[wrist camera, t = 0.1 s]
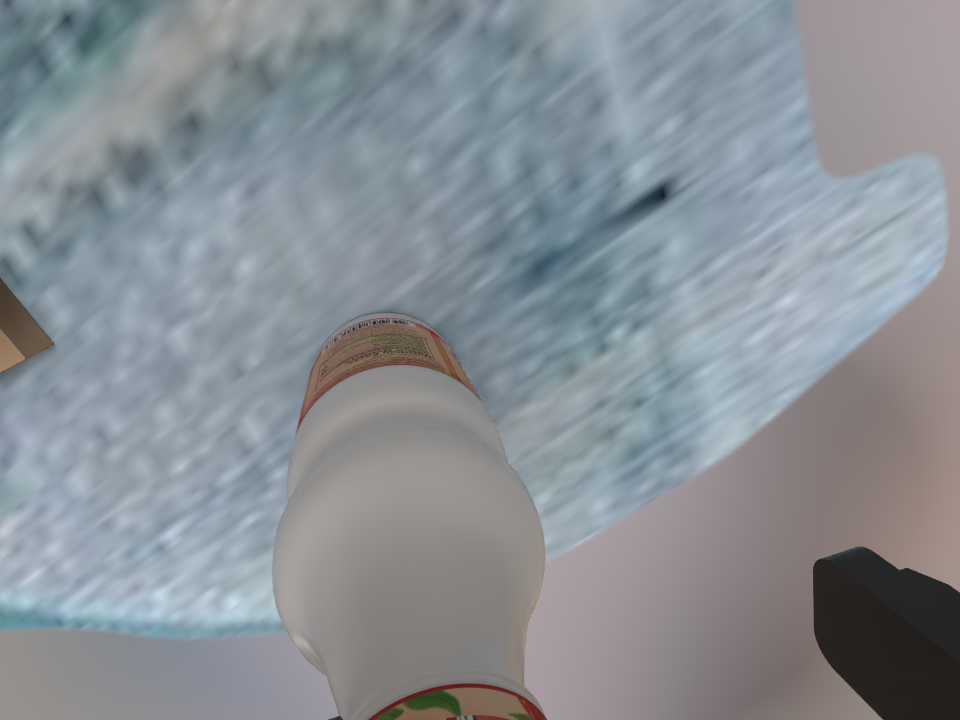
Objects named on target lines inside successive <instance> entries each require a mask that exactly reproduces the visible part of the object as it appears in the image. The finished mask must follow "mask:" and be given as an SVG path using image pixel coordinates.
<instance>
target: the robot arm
mask: <svg viewBox="0 0 960 720" xmlns="http://www.w3.org/2000/svg"><path fill="white" fill-rule="evenodd" d="M813 591H814V593H813V594H814V595H813V597H814V633H815V637H816V640H817V643H818V645H819V648H820V650H821V652H822V653H823V655H824V657H825V658H826V660H827V661H828V663H829V664H830V665H831V667H832V668H833V669H834V670H835V671H836V672H837V673H838V674H839V675H840V676H841V677H842V678H843V679H844V680H845V681H846V682H847V683H848V684H849V685H850V686H851V687H852V688H853V689H854V690H855V692H856V693H857V694H858V695H860V697H861V698H862V699H863V700H864V701H865V702H866V703H867V704H868V705H869V706H870V707H871V708H872V709H873V710H874V711H875V712H876V713H877V714H878V715H879V716H880V717H881V718H882V719H883V720H960V593H959V592H958V591H957V590H955V589H954V588H952V587H951V586H949V585H948V584H946V583H943V582H941V581H938V580H936V579H933V578H931V577H928V576H926V575H923V574H921V573H918V572H916V571H913V570H911V569H909V568H905V569H902V570H898V569H897V568H896V567H894V566H893V565H892V564H890V563H889V562H887V561H886V560H884V559H883V558H882V557H880V556H879V555H877V554H876V553H875V552H873V551H871V550H870V549H867V548H864V547H855V548H852V549H849V550H846V551H843V552H840V553H837V554H834V555H831V556H828V557H825V558H822V559H819V560H817V561H816V563H815V564H814V567H813ZM329 720H343V718H342V717H341V716H338V717H335V718H332V719H329Z"/></svg>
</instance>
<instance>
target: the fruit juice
mask: <svg viewBox="0 0 960 720" xmlns="http://www.w3.org/2000/svg"><path fill="white" fill-rule="evenodd" d="M287 497H288V503H287V505H286V508H285V510H284V512H283V514H282V517H281V519H280V522H279V525H278V528H277V532H276V537H275V543H274V552H273V561H272V584H273V592H274V598H275V603H276V607H277V610H278V614H279V616H280V619H281V621H282V624H283V626H284V628H285V630H286V632H287V634H288V636H289V637H290V639H291V641H292V642H293V644H294V645H295V647H296V648H297V649H298V650H299V652H300V653H301V654H302V655H303V656H304V657H305V659H306V660H307V661H308V662H309V663H310V664H311V665H313V666H314V667H315V668H316V669H317V670H318V671H319V672H321V673H322V674H323V675H325V676H326V678H327V680H328V683H329V685H330V688H331V691H332V694H333V697H334V700H335V703H336V706H337V710H338V713H339V716H341V717H342V718H343V720H547V719H546V717H545V715H544V713H543V710H542V708H541V706H540V704H539V703H538V701H537V700H536V698H535V697H534V696H533V695H532V694H531V693H530V691H528V690H527V689H526V688H525V687H524V660H525V643H526V632H527V626H528V622H529V619H530V617H531V614H532V613H533V610H534V608H535V605H536V603H537V600H538V597H539V594H540V591H541V586H542V582H543V576H544V569H545V543H544V536H543V530H542V526H541V522H540V518H539V515H538V512H537V510H536V507H535V505H534V503H533V500H532V498H531V495H530V493H529V491H528V489H527V487H526V485H525V484H524V482H523V480H522V479H521V477H520V476H519V475H518V473H517V472H516V471H515V470H514V469H513V467H512V466H511V465H510V464H509V463H508V461H507V456H506V453H505V449H504V446H503V443H502V440H501V438H500V435H499V433H498V431H497V428H496V426H495V424H494V422H493V420H492V418H491V416H490V414H489V413H488V411H487V410H486V408H485V407H484V405H483V403H482V402H481V400H480V398H479V396H478V395H477V393H476V391H475V389H474V388H473V386H472V384H471V382H470V381H469V379H468V377H467V376H466V374H465V372H464V370H463V369H462V367H461V365H460V363H459V362H458V360H457V358H456V357H455V355H454V353H453V351H452V350H451V348H450V346H449V345H448V344H447V342H446V341H445V340H444V339H443V337H442V336H441V335H440V334H439V333H437V332H436V331H435V330H434V329H433V328H431V327H430V326H428V325H427V324H425V323H423V322H422V321H420V320H418V319H415V318H413V317H410V316H407V315H403V314H397V313H375V314H369V315H365V316H362V317H359V318H356V319H354V320H352V321H350V322H348V323H346V324H345V325H343V326H342V327H340V328H339V329H338V330H337V331H335V332H334V333H333V334H332V335H331V336H330V337H329V338H328V339H327V341H326V342H325V343H324V344H323V346H322V347H321V349H320V350H319V352H318V354H317V356H316V358H315V360H314V363H313V366H312V369H311V373H310V377H309V381H308V385H307V389H306V394H305V398H304V402H303V406H302V410H301V414H300V419H299V423H298V427H297V431H296V435H295V439H294V442H293V445H292V449H291V454H290V460H289V468H288V480H287Z"/></svg>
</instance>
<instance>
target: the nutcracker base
mask: <svg viewBox="0 0 960 720" xmlns="http://www.w3.org/2000/svg"><path fill="white" fill-rule="evenodd" d="M51 345H53V342H52V341H51V340H50V339H49V338H48V336H47V335H46V334H45V333H44V331H43V330H42V329H41V328H40V327H39V325H38V324H37V323H36V322H35V321H34V319H33V318H32V317H31V316H30V314H29V313H28V312H27V311H26V310H25V308H24V307H23V306H22V305H21V303H20V302H19V301H18V300H17V299H16V297H15V296H14V295H13V294H12V293H11V291H10V290H9V289H8V288H7V286H6V285H5V284H4V283H3V282H2V280H1V279H0V372H2V371H4V370H6V369H8V368H10V367H12V366H14V365H15V364H17V363H19V362H21V361H23V360H25V359H27V358H29V357H31V356H32V355H34V354H36V353H38V352H40V351H42V350H44V349H46V348H48V347H49V346H51Z"/></svg>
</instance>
